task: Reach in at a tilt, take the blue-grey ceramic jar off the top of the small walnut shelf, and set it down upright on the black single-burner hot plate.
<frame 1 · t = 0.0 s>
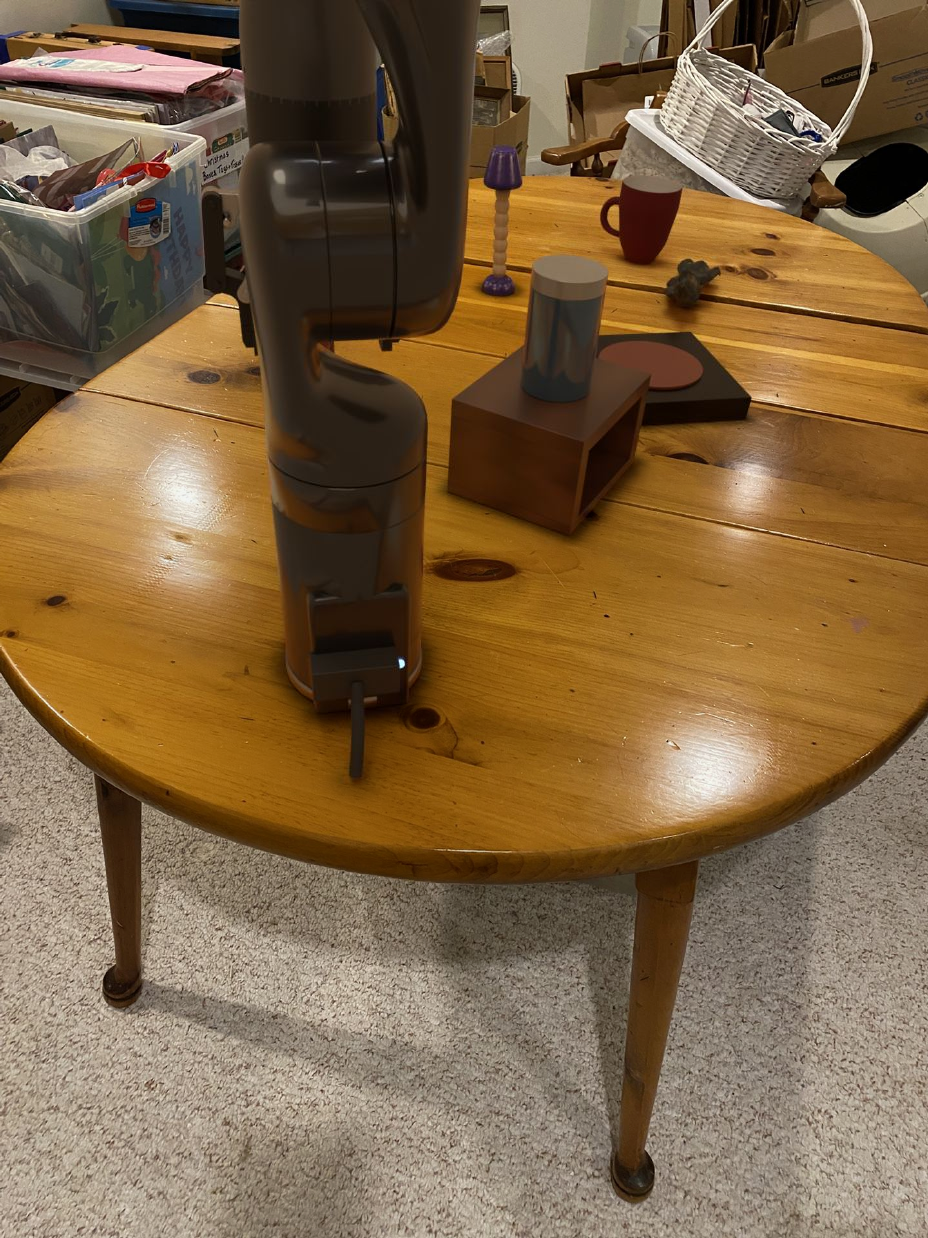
hand: (323, 349, 63), 17 cm above the table, tool pointing down, fingers open, 8 cm apart
hot plate: (645, 387, 99), on the table
toy lamp: (495, 291, 118), on the table
shelf: (543, 476, 84), on the table
mug: (630, 259, 130), on the table
jar: (555, 385, 79), point 9 cm above the table, touching shelf
statue: (687, 304, 118), on the table
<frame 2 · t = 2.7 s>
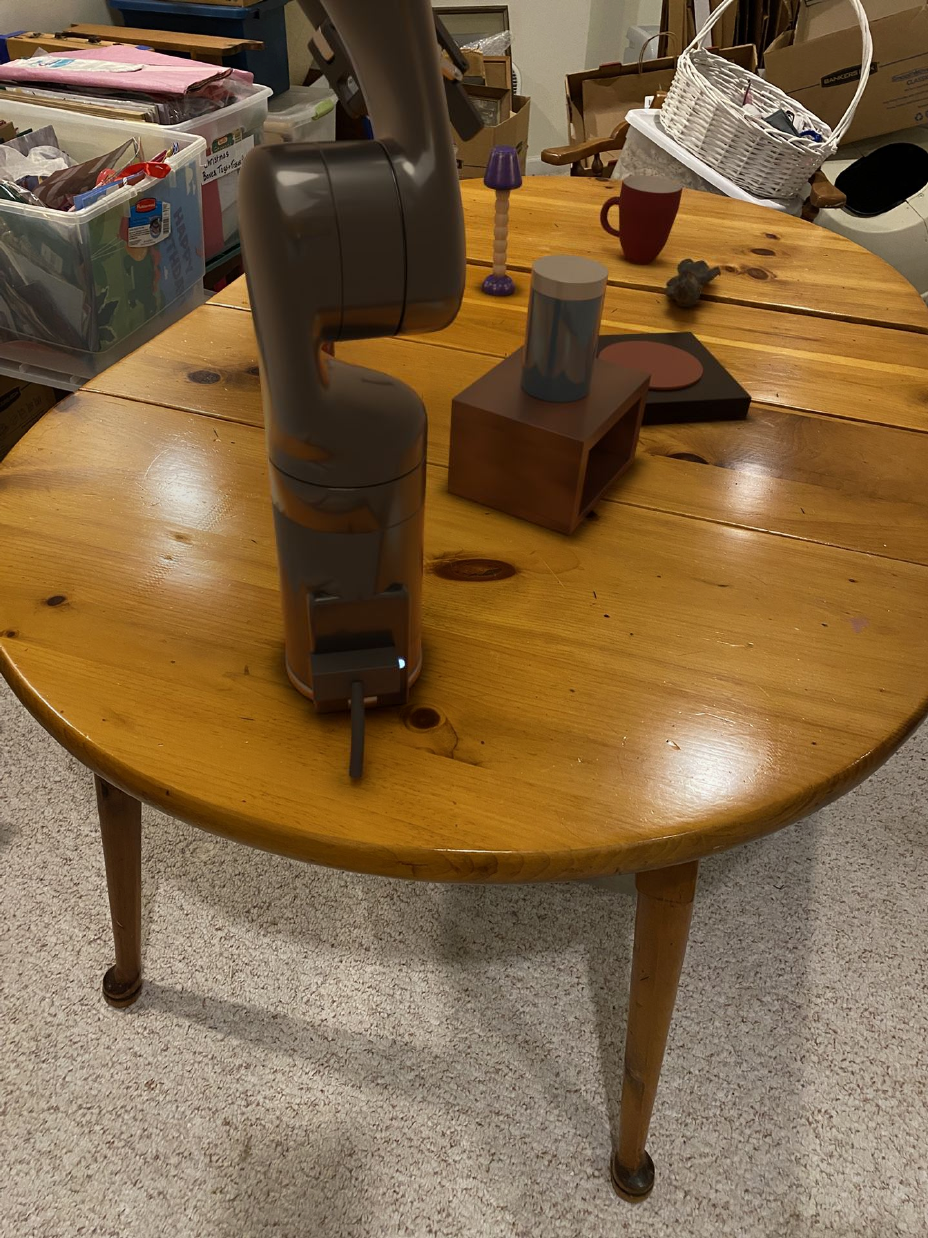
hand: (448, 145, 72), 26 cm above the table, tool tilted 45°, fingers open, 8 cm apart
nothing on the table moved.
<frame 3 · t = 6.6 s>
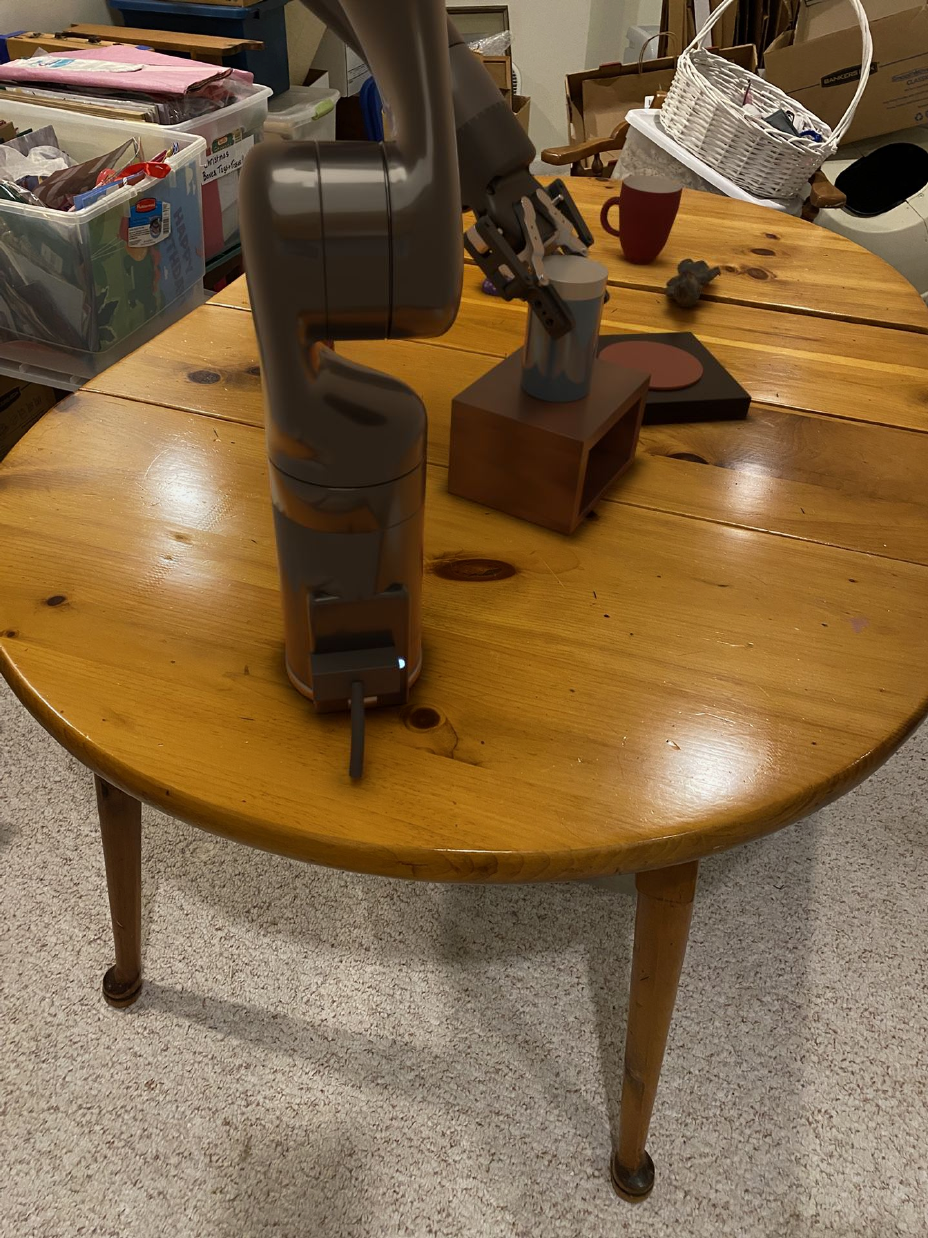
hand: (583, 319, 74), 15 cm above the table, tool tilted 45°, fingers closed on jar, 6 cm apart
jar: (555, 385, 79), point 9 cm above the table, touching gripper, shelf
everything else where it was.
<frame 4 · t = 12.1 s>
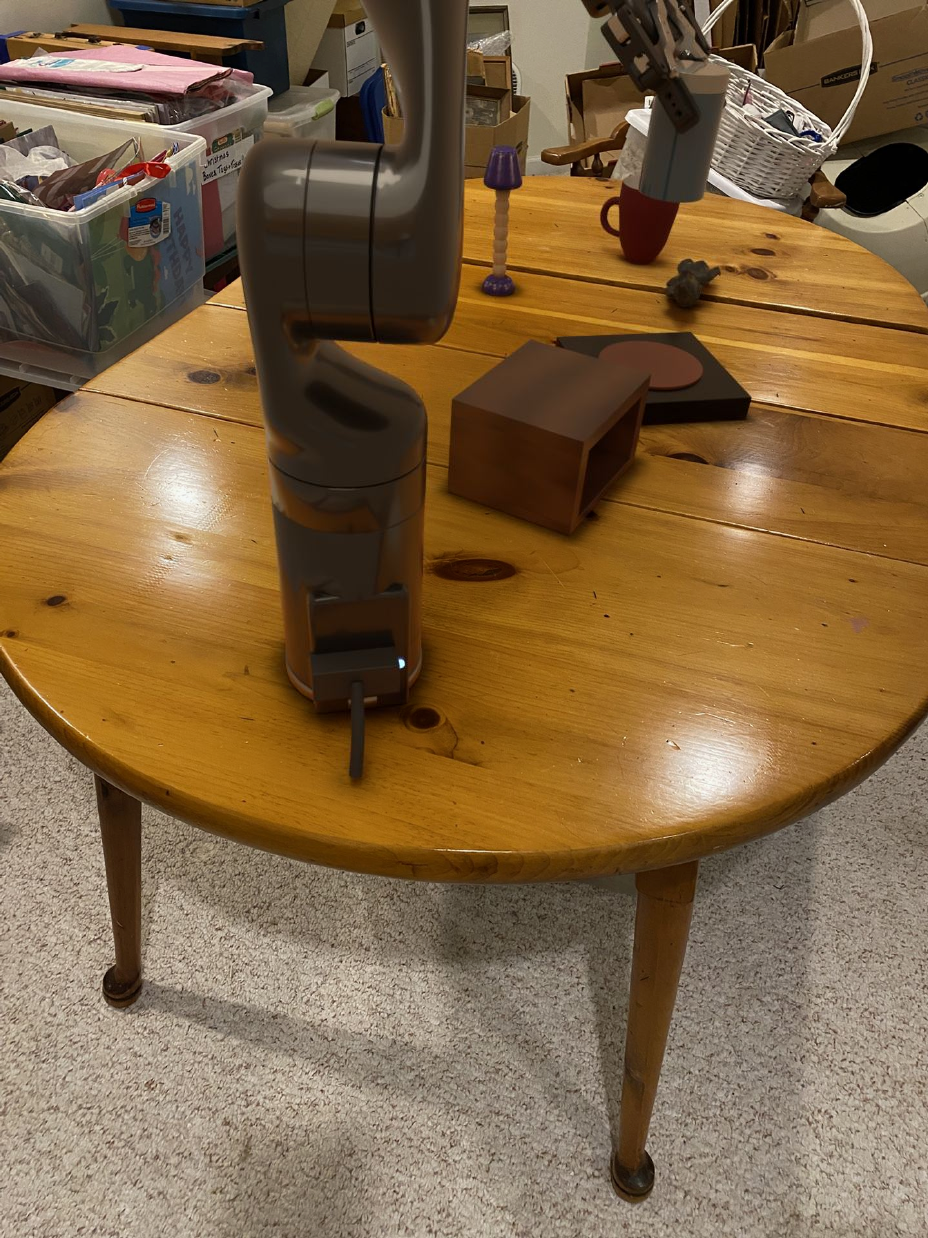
hand: (704, 119, 80), 27 cm above the table, tool tilted 45°, fingers closed on jar, 6 cm apart
jar: (670, 192, 84), point 20 cm above the table, touching gripper
everything else where it was.
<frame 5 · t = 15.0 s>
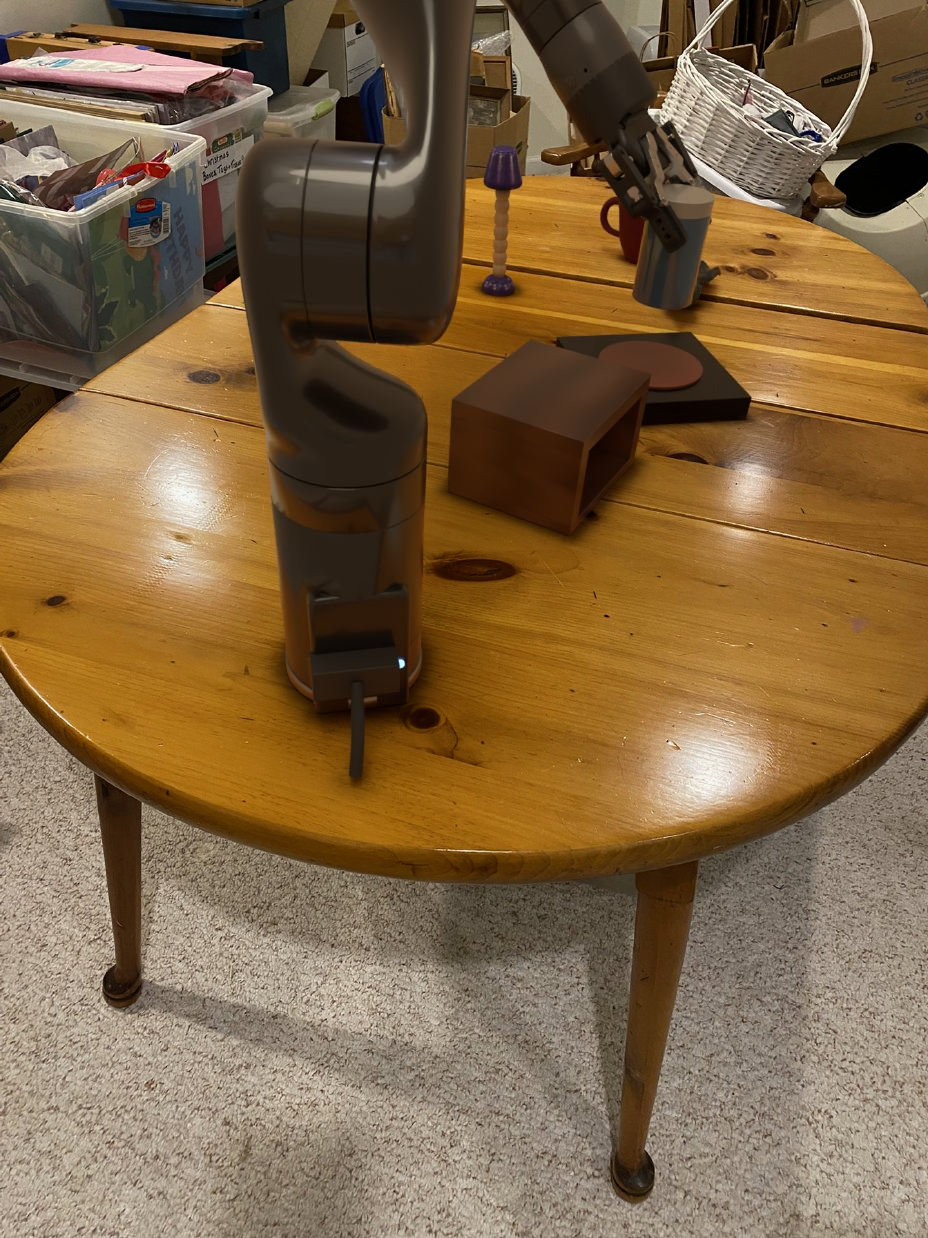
hand: (691, 237, 88), 16 cm above the table, tool tilted 45°, fingers closed on jar, 6 cm apart
jar: (661, 297, 93), point 10 cm above the table, touching gripper
everything else where it was.
when the fingers open (9 cm above the table, at t = 17.5 s): jar stays where it is, resting on hot plate.
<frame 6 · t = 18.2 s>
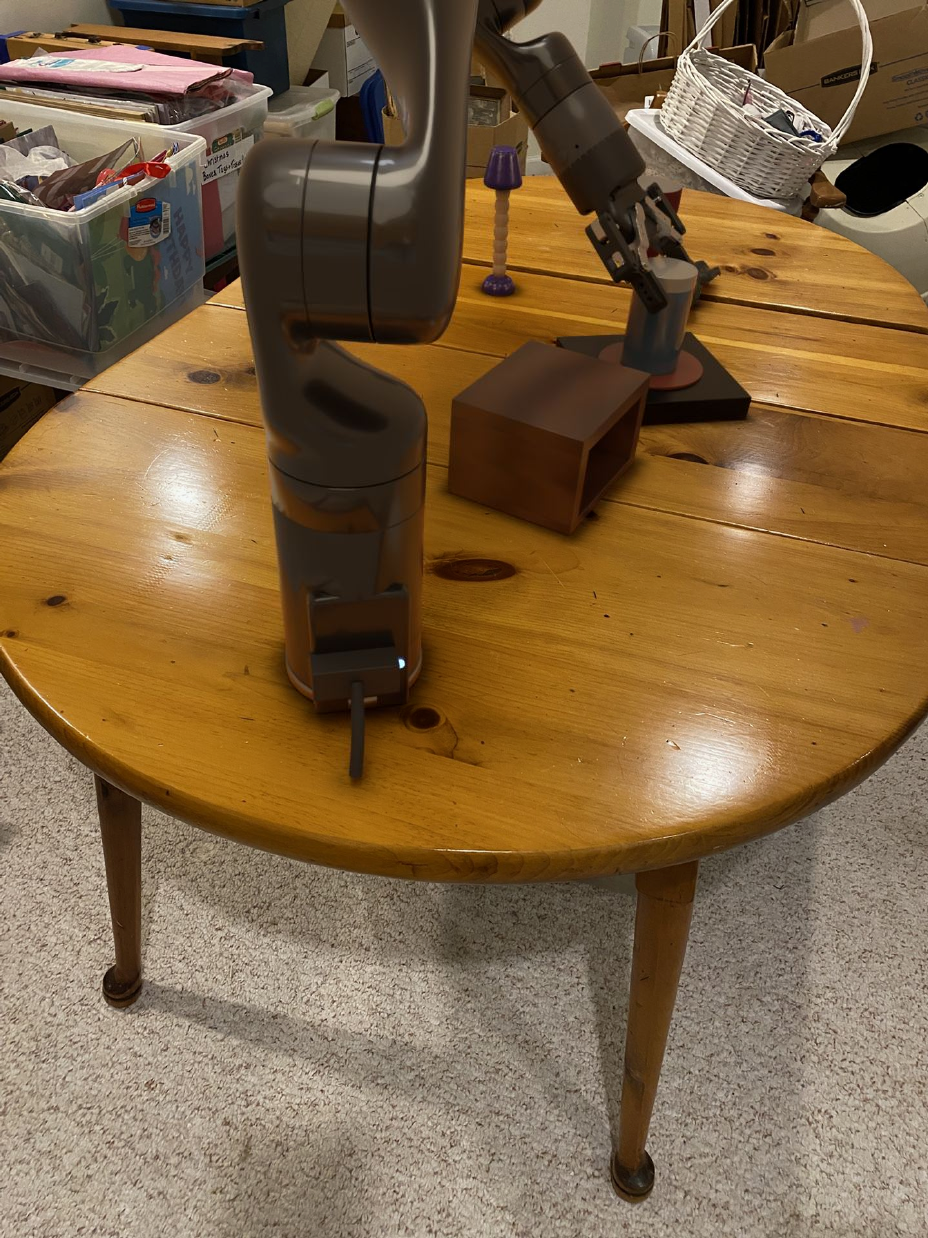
hand: (676, 296, 92), 10 cm above the table, tool tilted 45°, fingers open, 8 cm apart
jar: (648, 362, 98), point 3 cm above the table, touching hot plate
everything else where it was.
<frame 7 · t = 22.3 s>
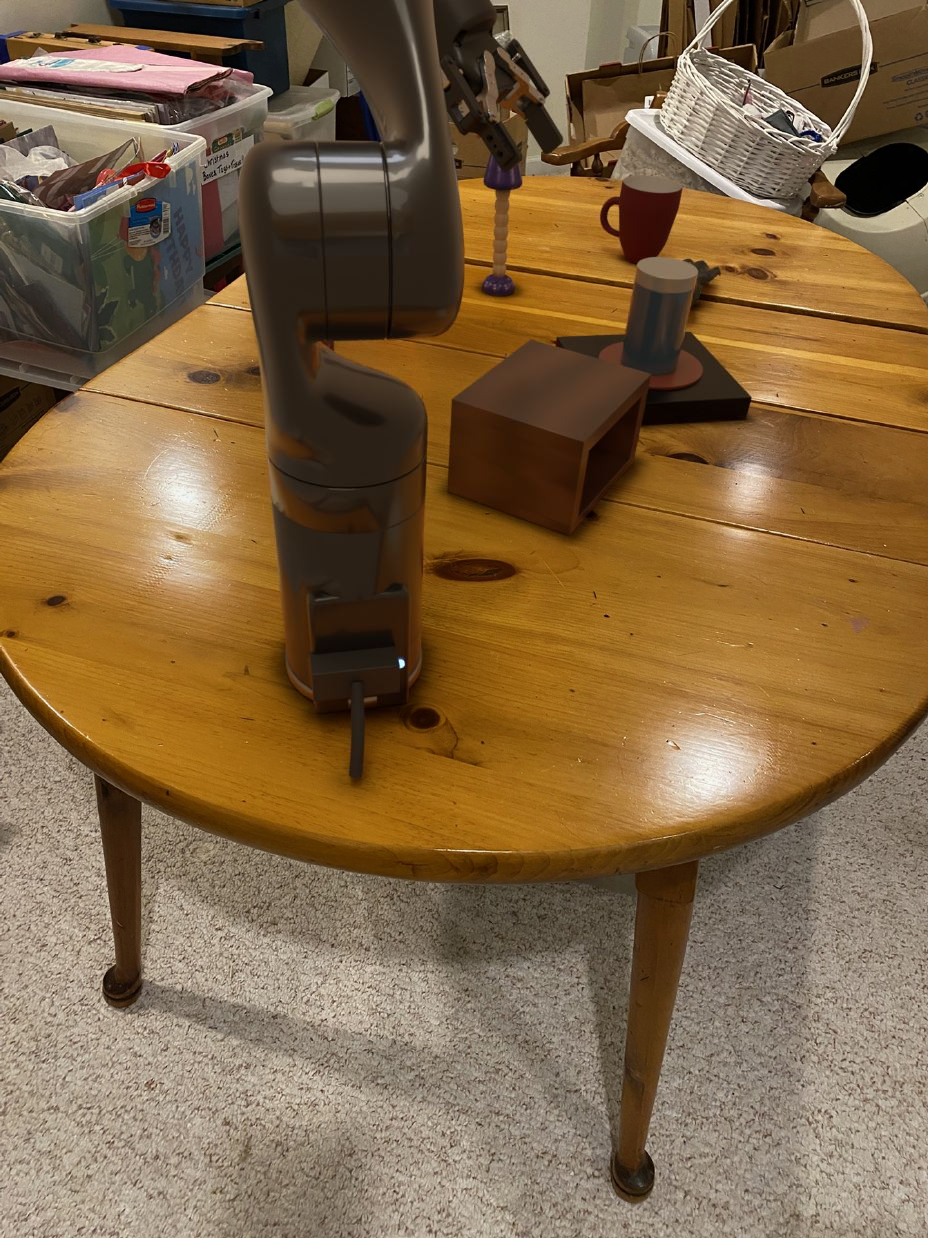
hand: (535, 156, 87), 21 cm above the table, tool tilted 45°, fingers open, 8 cm apart
nothing on the table moved.
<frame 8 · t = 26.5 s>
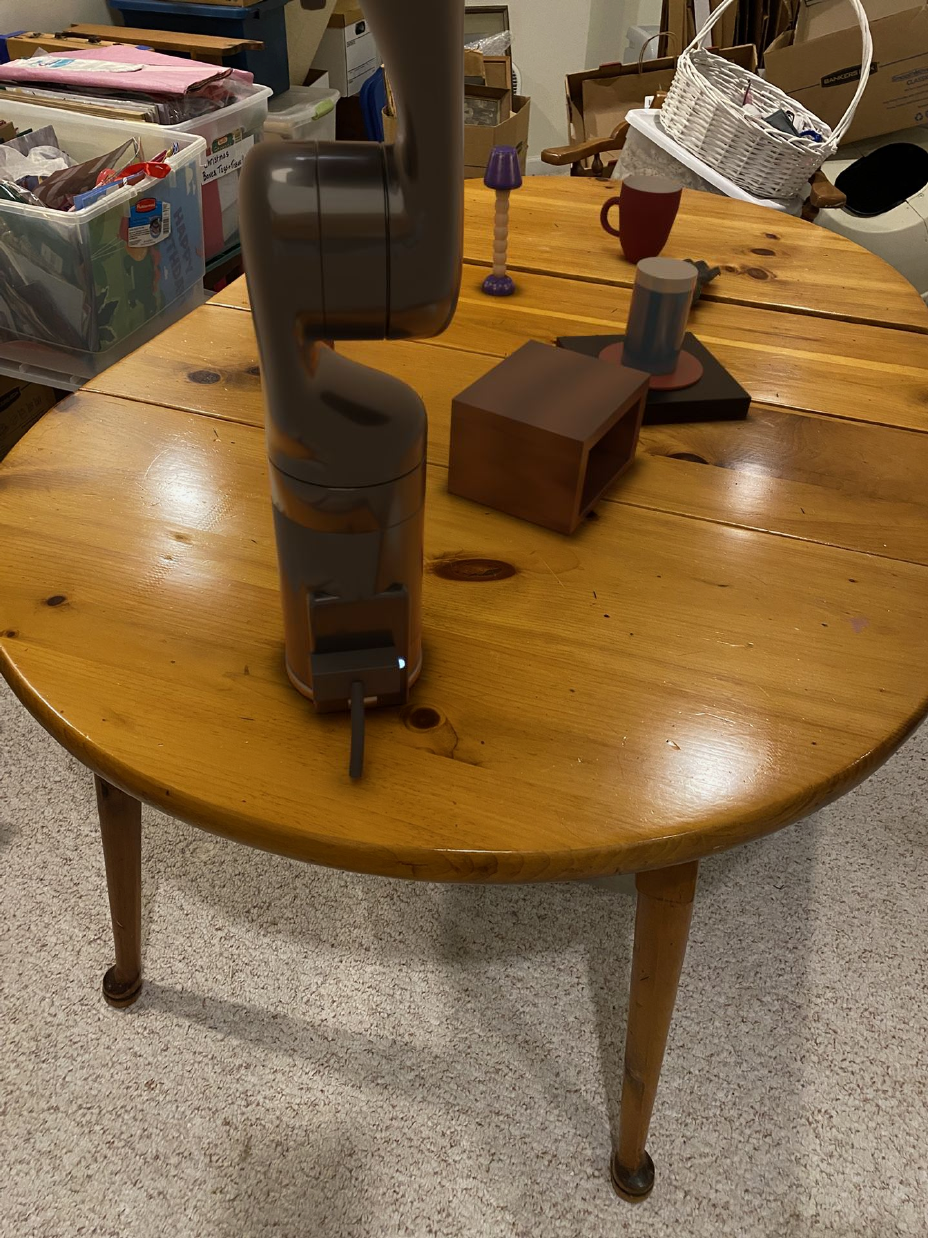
hand: (362, 17, 65), 34 cm above the table, tool pointing down, fingers open, 8 cm apart
nothing on the table moved.
at the end: jar inside the target area on the hot plate (0.2 cm from its centre), point 2.8 cm above the hot plate's base; jar tilted 0°; the gripper is holding nothing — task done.
